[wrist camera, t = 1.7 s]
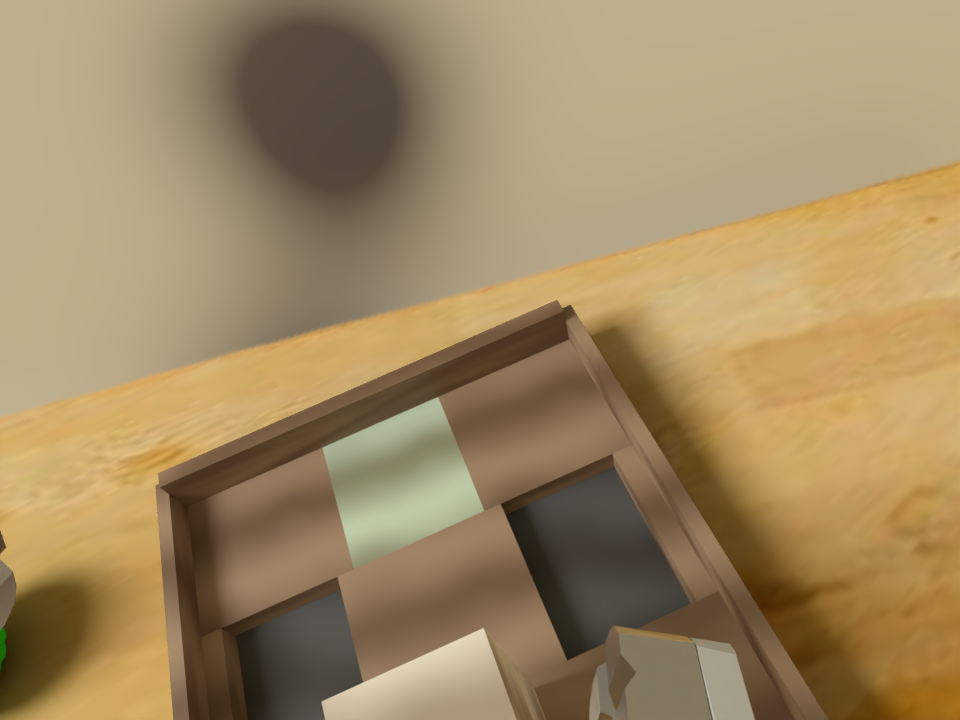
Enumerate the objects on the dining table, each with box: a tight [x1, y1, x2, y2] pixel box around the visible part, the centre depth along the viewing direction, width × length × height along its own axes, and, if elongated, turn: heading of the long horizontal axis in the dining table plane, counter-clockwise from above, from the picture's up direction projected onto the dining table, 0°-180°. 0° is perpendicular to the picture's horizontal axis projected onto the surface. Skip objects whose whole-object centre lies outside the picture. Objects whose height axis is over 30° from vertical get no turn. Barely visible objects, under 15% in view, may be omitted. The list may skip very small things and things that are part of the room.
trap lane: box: [156, 300, 829, 720], centre depth 36 cm, size 28×28×5 cm
